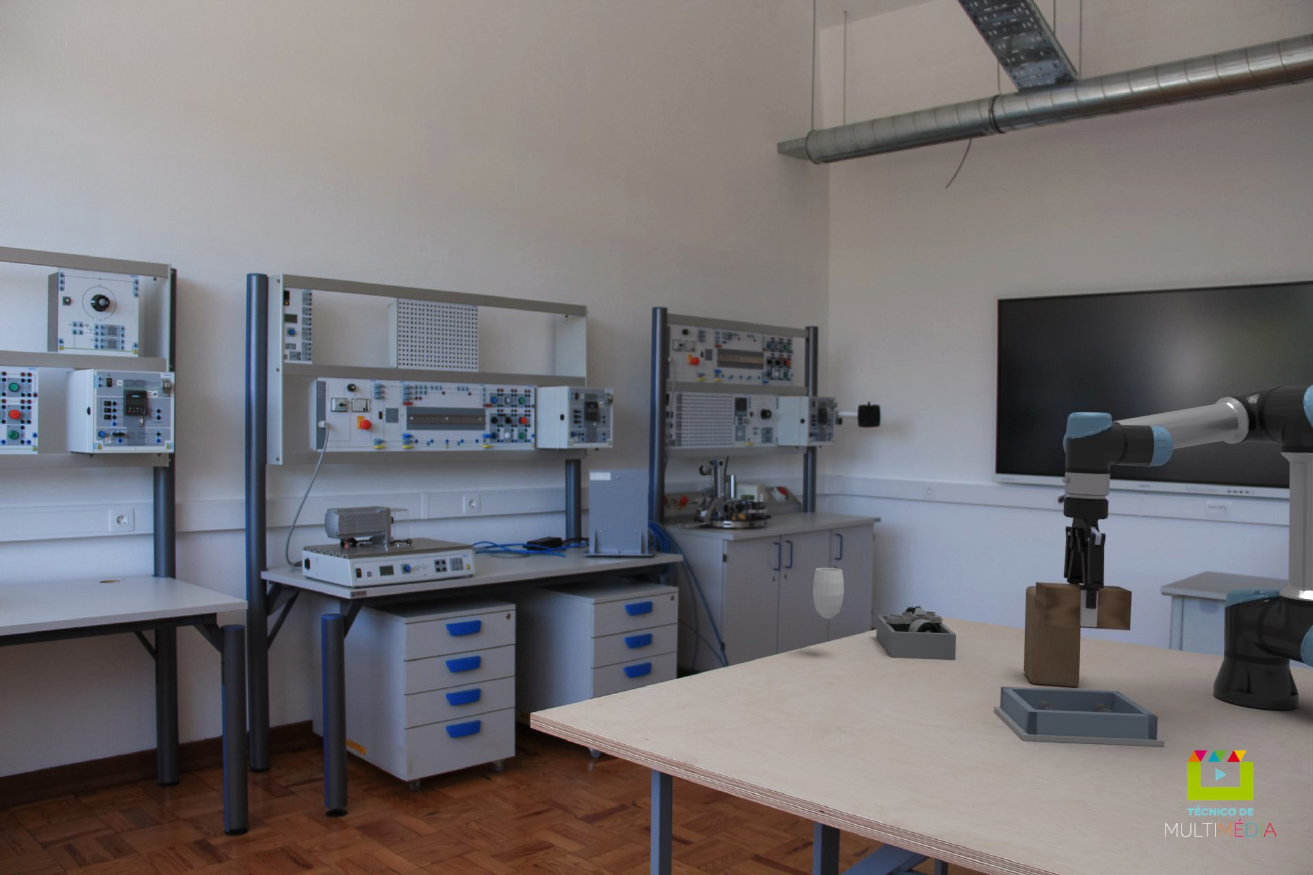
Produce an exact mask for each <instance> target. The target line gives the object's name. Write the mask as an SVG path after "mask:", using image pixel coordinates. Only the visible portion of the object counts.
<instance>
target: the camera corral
mask: <svg viewBox="0 0 1313 875" xmlns="http://www.w3.org/2000/svg"><path fill="white" fill-rule="evenodd" d="M889 615H890V614H889ZM889 615H888V614H887V615H886V614H877V615H876V633H875V634H876V637H875V638H876V639H877V641H878V642H879V643H880V645H881V646H882V647H883V648H884V650H885V651H886V652H887V654H888V655H889V656H890V657H891V658H892V659H895V658H896V659H898V658H899V659H919V660H920V659H924V660H945V661H946V660H947V661H948V660H949V661H950V660H951V661H956V655H957V654H956V653H957V652H956V650H957V648H956V646H957V645H956V644H957V643H956V642H957V634H956V633H955V632H953V631H952V630H951V629H950V628H949V627H948V626H947V625H946V624H944V623H943V622H942V623H941V624H939V631H940V633H921V632H895V630H894V629H893V628H892V627H891V626H890V625H888V624H887V623H886V622H887V616H889Z"/></svg>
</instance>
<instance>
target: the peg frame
mask: <svg viewBox="0 0 1313 875" xmlns="http://www.w3.org/2000/svg"><path fill="white" fill-rule="evenodd" d="M999 703H1000V704H999V705H1000V706H999V705H996V706H993V708H994V709H993V712H994V713H995V714H996V715H997V716H998V717H999V718H1000V719H1001V720H1002V721H1003V722H1004V723H1005V724H1006V725H1007V726H1008V727H1009V728H1010V729H1011V730H1012V731H1013V732H1014V733H1015V734H1016V735H1017V736H1018V737H1019V738H1020V739H1021V740H1022V741H1024V742H1025V741H1026V742H1028V741H1029V742H1046V743H1048V742H1049V743H1070V744H1072V743H1073V744H1093V745H1094V744H1095V745H1115V746H1116V745H1117V746H1119V745H1120V746H1138V747H1139V746H1140V747H1141V746H1142V747H1165V740H1164V739H1162V738H1161V737H1159V736H1158V722H1159V721H1158V719H1159V717H1158V716H1157V715H1155V714H1154V713H1153V712H1151V711H1149V710H1148V709H1146V708H1145V707H1144V706H1142V705H1141V704H1139V703H1137V702H1136V701H1134V700H1133V699H1131V698H1129V697H1128V696H1127V695H1124V694H1123V693H1122V692H1120V691H1118V690H1100V689H1099V690H1097V689H1078V688H1077V689H1076V688H1075V689H1071V688H1053V687H1051V688H1049V687H1026V686H1025V687H1024V686H1023V687H1021V686H1019V687H1018V686H1000V702H999Z"/></svg>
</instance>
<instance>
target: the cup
mask: <svg viewBox="0 0 1313 875" xmlns="http://www.w3.org/2000/svg"><path fill="white" fill-rule="evenodd" d="M812 586H813V587H812V596H813V604H814V608H815V610H816V612H817V613H819V615H820V616H821V618H824V619H826V620H830V619H832V618H835V616H836V615H837V614H839V613H840V611H841V608H842V606H843V601H844V594H845V591H844V590H845V581H844V573H843V570H842V569H841V568H836V567H835V568H834V567H817V568H815V571H814V577H813V584H812Z"/></svg>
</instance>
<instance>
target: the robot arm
mask: <svg viewBox="0 0 1313 875" xmlns="http://www.w3.org/2000/svg"><path fill="white" fill-rule="evenodd" d="M1065 430H1066V432H1065V433H1064V436H1063V440H1062V447H1063V451H1064V453H1065V462H1064V464H1065V465H1064V466H1065V467H1064V468H1065V469H1064V472H1065V473H1064V477H1062V480H1061V481H1062V483H1064V493H1065V494H1066V495H1067V496H1065V498H1063V516H1064V517H1066V518H1069V519H1072V523H1071V526H1067V525H1066V526H1065V528H1064V529H1065V546H1064V549H1065V550H1064V551H1065V552H1064V565H1063V566H1064V567H1063V578H1064V579H1066V582H1067V584H1082V585H1083V586H1081V587H1079V589H1080V590H1081V606H1080V626H1085V627H1097V606H1098V591H1099V590H1100V589H1103V588H1104V586H1105V545H1106V540H1107V539H1106V538H1107V535H1106V533H1105V532H1100V528H1099V527H1100V526H1099V520H1102V521H1103V520H1106V519H1108V517H1109V504H1110V502H1109V500H1108V498H1107V496H1109V495H1110V485H1111V471H1110V470H1111V466H1116V465H1117V466H1135V467H1138V466H1139V467H1147V468H1150V467H1159V466H1162V465H1165V464H1167V462H1168V461H1169V460H1170V459H1171V457H1172V454H1173V452H1174V450H1176V449H1183V448H1186V447H1187V448H1188V447H1194V446H1199V445H1205V444H1212V443H1217V442H1222V441H1223V442H1224V443H1227V444H1233V445H1234V444H1239V443H1240V444H1241V443H1267V444H1270V443H1271V444H1280V454H1281V456H1282V457H1284V458H1285V459H1286V460H1287V461H1288V462H1289V497H1288V498H1289V502H1288V504H1289V514H1288V516H1289V517H1288V583H1287V586H1285V587H1284V588H1283V589H1275V588H1274V589H1273V588H1233V589H1230V590H1229V591H1228V592H1227V593H1226V596H1225V604H1224V608H1223V610H1224V623H1223V624H1224V627H1223V628H1224V633H1223V635H1224V636H1223V637H1224V638H1223V642H1224V643H1223V644H1224V645H1223V648H1224V649H1223V650H1224V651H1223V660H1222V662H1221V666H1220V667H1219V671H1218V673H1217V675H1216V677H1215V680H1214V683H1213V690H1212V691H1213V692H1212V694H1213V696H1214V697H1215V698H1217V699H1219V700H1221V701H1224V702H1228V703H1231V704H1235V705H1238V706H1241V707H1247V708H1248V707H1249V708H1256V709H1263V710H1276V711H1278V710H1279V711H1285V710H1286V711H1287V710H1294V709H1297V708H1299V706H1300V694H1299V692H1298V689H1297V685H1296V682H1295V679H1294V676H1293V673H1292V669H1291V661H1294V662H1297V663H1301V664H1305V665H1307V666H1309V667H1312V668H1313V383H1311V384H1309V383H1307V384H1294V385H1292V384H1291V385H1275V386H1270V387H1266V388H1265V387H1264V388H1261V389H1256V390H1252V391H1248V392H1245V393H1244V392H1243V393H1240V394H1235V395H1231V396H1225V397H1221V398H1220V399H1218V400H1217V401H1216V402H1215V403H1214V404H1209V405H1203V406H1197V407H1191V408H1184V409H1179V410H1172V411H1166V412H1163V413H1162V412H1161V413H1156V414H1150V415H1149V414H1148V415H1143V416H1137V417H1132V418H1125V419H1120V420H1115V421H1114V420H1113V417H1112V414H1110V413H1108V412H1090V411H1089V412H1088V411H1087V412H1084V411H1079V412H1077V411H1076V412H1072V413H1070V414H1069V415H1068V416H1067V423H1066V429H1065Z"/></svg>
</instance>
